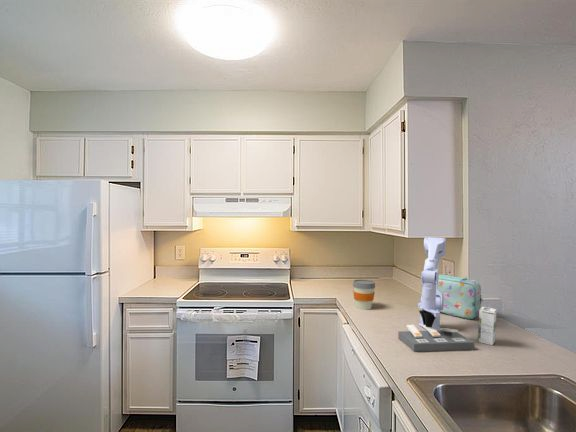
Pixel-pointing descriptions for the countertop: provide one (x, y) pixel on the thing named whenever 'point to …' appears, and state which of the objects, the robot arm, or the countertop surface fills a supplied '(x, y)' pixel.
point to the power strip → (436, 341)
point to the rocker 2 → (449, 330)
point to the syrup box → (487, 325)
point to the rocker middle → (432, 331)
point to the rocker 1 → (414, 331)
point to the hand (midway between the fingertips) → (427, 327)
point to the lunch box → (460, 296)
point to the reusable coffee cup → (363, 293)
